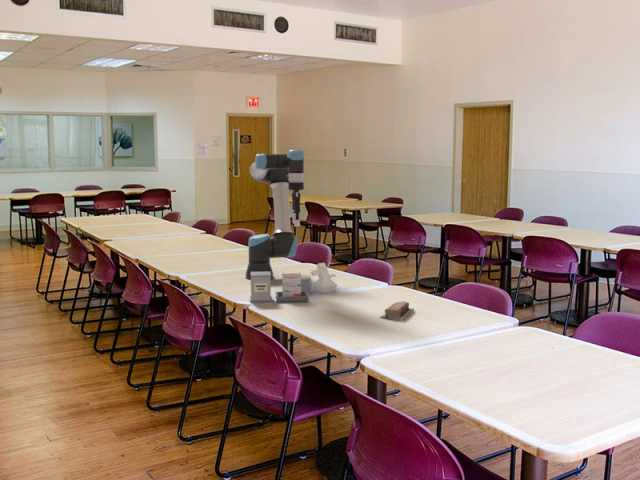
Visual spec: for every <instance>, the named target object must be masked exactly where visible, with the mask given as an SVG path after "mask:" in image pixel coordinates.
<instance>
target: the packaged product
mask: <svg viewBox="0 0 640 480" xmlns="http://www.w3.org/2000/svg"><path fill="white" fill-rule="evenodd" d="M409 306H410V302H407V301H404V300H403V301H396V302H394V303H392V304H391V305H389V306H388V307H387V308H385V310H384V313H383V314H382V315H381V316H380V319H381V318H383V319H384V320H391V319H394V320H393V321H400V320H403V321H404V320H406V319H407V318H408V317H410V316H411V315H412V314H413V313H414V312H415V308H413V307H412V308H409ZM413 311H414V312H413ZM412 312H413V313H412ZM411 313H412V314H411ZM410 314H411V315H410ZM406 317H407V318H406ZM405 318H406V319H405Z"/></svg>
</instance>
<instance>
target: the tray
mask: <svg viewBox="0 0 640 480" xmlns="http://www.w3.org/2000/svg"><path fill="white" fill-rule="evenodd" d="M308 294H309V293H307V292H306V291H301V296H294V297H282V291H275V300H276V303H308V302H309V295H308Z"/></svg>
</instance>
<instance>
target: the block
mask: <svg viewBox="0 0 640 480" xmlns="http://www.w3.org/2000/svg"><path fill="white" fill-rule="evenodd" d="M311 276H312V275H310V274H301V291H306V292H307V294H311V292H312V283H311V282H312V277H311Z"/></svg>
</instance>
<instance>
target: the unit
mask: <svg viewBox="0 0 640 480" xmlns="http://www.w3.org/2000/svg"><path fill="white" fill-rule="evenodd" d="M271 279H272V278H271V273H270V272H251V279H250V296H249V303H250V302H261V303H272V302H273V300H272V292H271V291H272V289H271V288H272V284H271Z"/></svg>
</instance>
